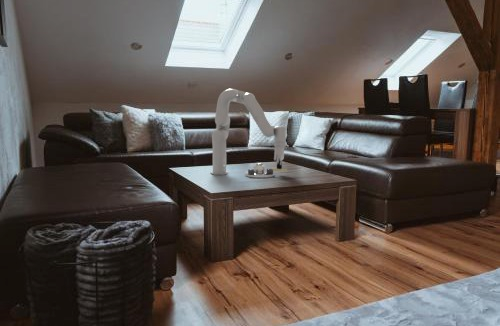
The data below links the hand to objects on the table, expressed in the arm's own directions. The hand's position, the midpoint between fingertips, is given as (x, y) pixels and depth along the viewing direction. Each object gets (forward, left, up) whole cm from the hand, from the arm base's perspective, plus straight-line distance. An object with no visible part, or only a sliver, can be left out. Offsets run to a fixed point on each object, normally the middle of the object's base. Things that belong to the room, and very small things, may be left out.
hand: (279, 170), depth 279 cm
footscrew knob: (+5, -3, -2) cm, 6 cm away
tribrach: (-1, -14, -3) cm, 14 cm away
